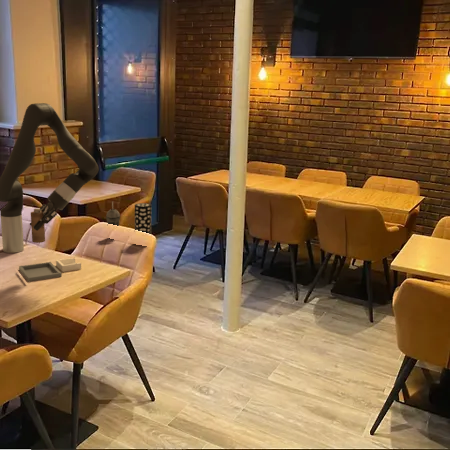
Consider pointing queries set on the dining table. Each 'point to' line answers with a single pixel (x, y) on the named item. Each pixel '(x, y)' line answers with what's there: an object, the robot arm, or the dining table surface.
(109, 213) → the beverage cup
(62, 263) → the caddy slot
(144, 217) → the spotted tube
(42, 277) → the serving tray
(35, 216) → the pepper mill
